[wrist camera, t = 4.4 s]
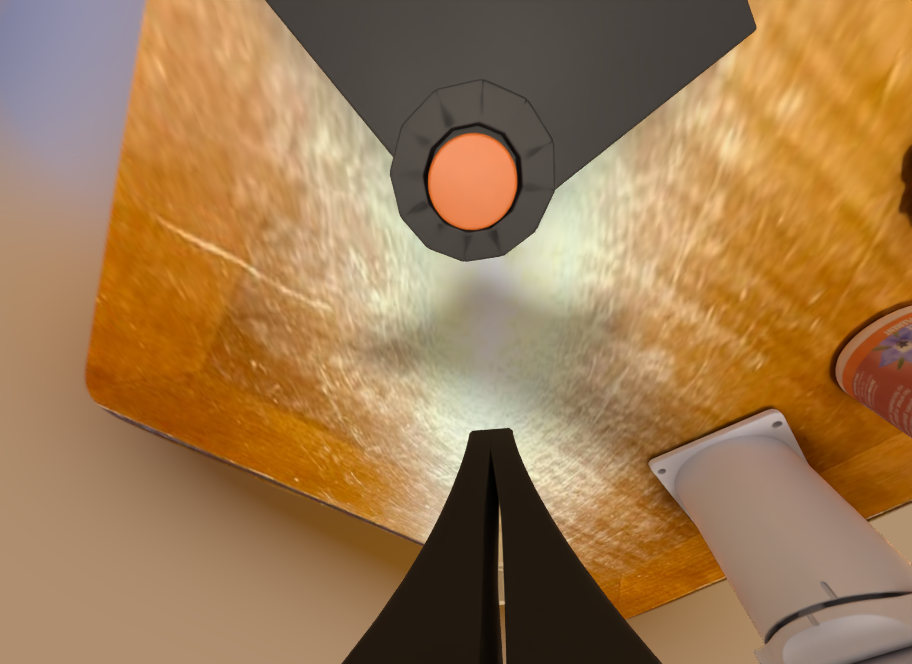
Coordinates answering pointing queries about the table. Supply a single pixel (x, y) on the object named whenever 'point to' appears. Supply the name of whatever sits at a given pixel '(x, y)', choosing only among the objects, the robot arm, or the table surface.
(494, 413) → the table surface
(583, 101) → the scale
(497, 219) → the button
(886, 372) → the pill bottle
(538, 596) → the robot arm
